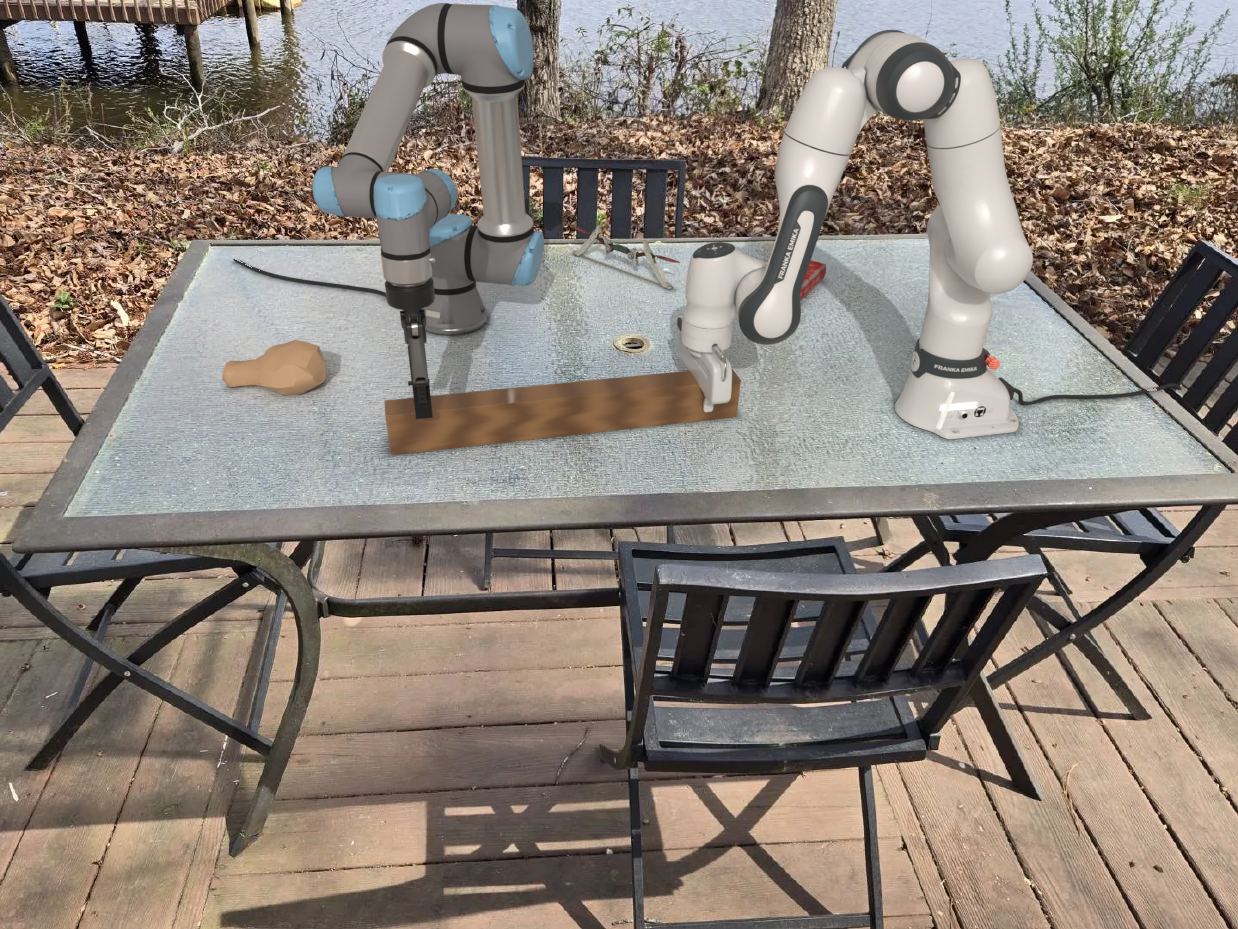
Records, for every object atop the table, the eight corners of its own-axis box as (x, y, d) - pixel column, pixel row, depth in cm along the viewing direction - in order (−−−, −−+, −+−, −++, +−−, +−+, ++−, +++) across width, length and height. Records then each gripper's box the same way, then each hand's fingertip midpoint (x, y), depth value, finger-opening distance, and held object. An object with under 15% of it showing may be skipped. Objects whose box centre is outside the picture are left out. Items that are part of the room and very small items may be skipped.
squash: (325, 401, 166) (308, 363, 160) (224, 409, 168) (204, 372, 162) (338, 366, 174) (323, 329, 168) (242, 374, 176) (223, 338, 169)
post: (390, 455, 151) (385, 415, 147) (389, 439, 156) (384, 400, 151) (736, 417, 165) (741, 379, 161) (726, 402, 169) (730, 366, 165)
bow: (681, 290, 215) (684, 251, 209) (676, 292, 214) (679, 253, 208) (570, 250, 236) (570, 213, 230) (565, 252, 235) (565, 215, 229)
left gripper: (439, 307, 128) (450, 432, 140) (427, 250, 149) (438, 363, 160) (386, 311, 127) (402, 437, 138) (382, 253, 147) (396, 367, 159)
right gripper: (744, 358, 149) (736, 427, 157) (705, 309, 165) (699, 374, 173) (709, 361, 148) (702, 431, 155) (673, 312, 164) (669, 377, 172)
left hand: (421, 397), depth 149 cm, fingers open, 13 cm apart
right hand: (701, 401), depth 164 cm, fingers closed on post, 5 cm apart
